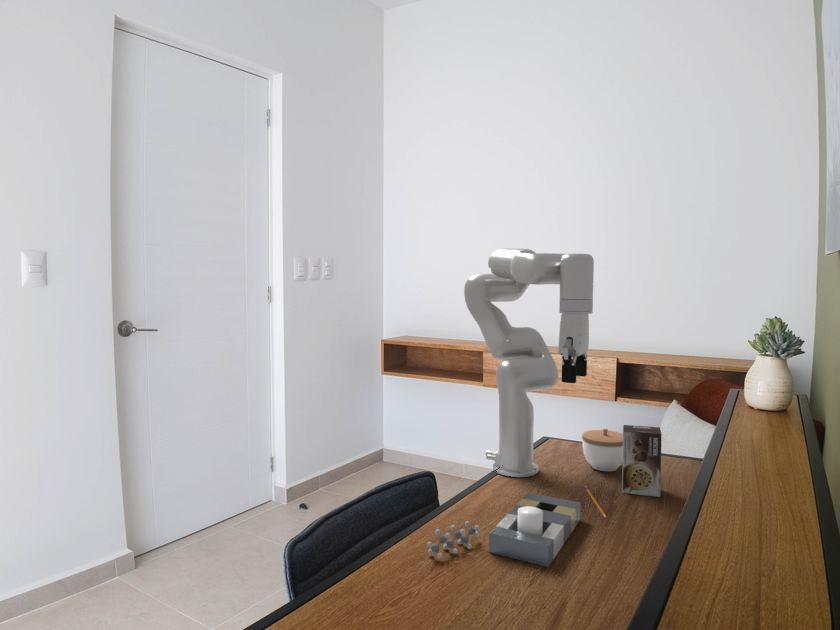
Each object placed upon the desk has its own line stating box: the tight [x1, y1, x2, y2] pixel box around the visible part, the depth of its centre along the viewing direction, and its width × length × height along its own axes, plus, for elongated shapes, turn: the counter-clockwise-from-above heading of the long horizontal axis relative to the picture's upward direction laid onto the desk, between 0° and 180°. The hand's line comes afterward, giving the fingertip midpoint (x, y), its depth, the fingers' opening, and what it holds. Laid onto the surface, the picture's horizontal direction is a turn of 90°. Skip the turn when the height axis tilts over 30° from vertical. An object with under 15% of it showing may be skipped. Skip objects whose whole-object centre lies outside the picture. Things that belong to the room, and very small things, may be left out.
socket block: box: [488, 492, 581, 568], centre depth 124 cm, size 12×24×4 cm, turn 151°
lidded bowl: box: [581, 428, 623, 472], centre depth 166 cm, size 13×13×11 cm
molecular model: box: [426, 520, 480, 559], centre depth 117 cm, size 14×4×5 cm, turn 130°
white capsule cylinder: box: [517, 506, 543, 536], centre depth 119 cm, size 5×5×7 cm
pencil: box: [584, 485, 607, 519], centre depth 142 cm, size 19×1×1 cm
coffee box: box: [621, 424, 663, 498], centre depth 148 cm, size 9×6×16 cm
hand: (574, 379), depth 138 cm, fingers open, 9 cm apart
